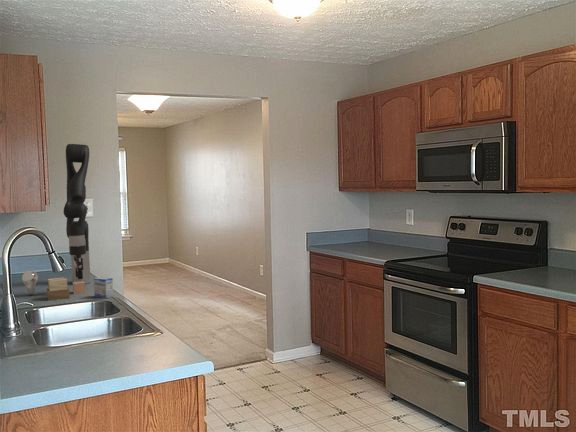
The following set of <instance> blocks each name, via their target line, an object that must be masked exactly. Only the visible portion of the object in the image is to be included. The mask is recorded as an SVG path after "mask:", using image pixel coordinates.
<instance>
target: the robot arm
mask: <svg viewBox="0 0 576 432" xmlns="http://www.w3.org/2000/svg"><path fill="white" fill-rule="evenodd" d="M89 162H90V148H89V145H88V144H87V145H86V144H81V143H79V144H77V143H68V144H67V145H66V147H65V164H66V202H65V204H64V207H63V215H64V217H65V218H66V225H65V226H66V230H65V231H66V237H67V238H68V251H69V252H68V253H69V255H70V262H71V263H70V264H71V265H70V266H71V284H72V285H73V282H81V281H84V283H85V285H87V284H90V283H91V281H92V280H91V264H90V263H91V262H90V261H91V260H90V246H89V244H90V242H89V232H90V231H89V223H88V221H86V217H87V213H88V207H87V205H86V203H85V201H86V198H87V195H86V193H87V188H86V185H85V184H86V179H87V173H88V168H89ZM74 163H78V164H79V163H80V164H81V165H80V167H79V169H78V171H77V170H76V168H75V166H74V165H75V164H74ZM75 219H78V220H75Z"/></svg>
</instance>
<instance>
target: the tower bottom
mask: <svg viewBox="0 0 576 432" xmlns="http://www.w3.org/2000/svg"><path fill="white" fill-rule="evenodd" d="M46 298H47V301H58V299H59V300H65V299H67V300H68V299H70V298H71V297H70V288H69V287H68V286H67V289H65V290H56V291H50V290H49V289H48V287H47V288H46Z"/></svg>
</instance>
